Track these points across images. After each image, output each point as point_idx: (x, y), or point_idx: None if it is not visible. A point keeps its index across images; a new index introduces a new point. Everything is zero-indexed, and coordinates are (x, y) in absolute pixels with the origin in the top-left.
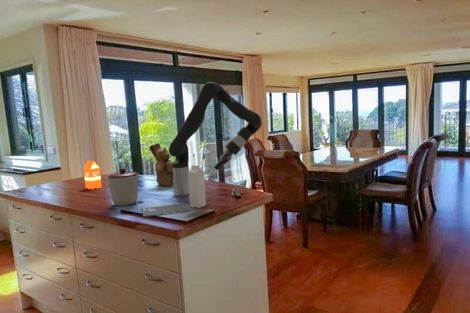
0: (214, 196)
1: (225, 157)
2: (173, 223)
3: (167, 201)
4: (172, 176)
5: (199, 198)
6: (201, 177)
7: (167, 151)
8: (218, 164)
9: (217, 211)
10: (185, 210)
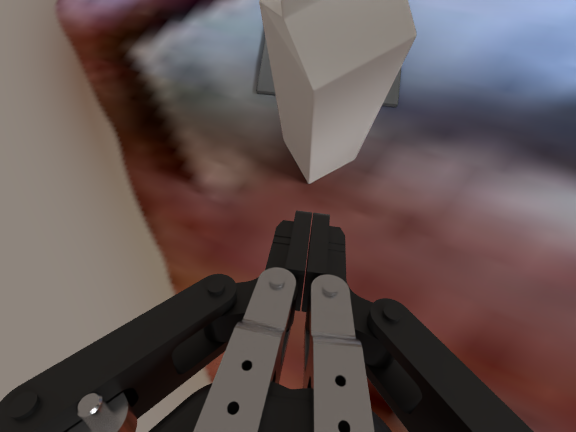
0: (473, 292)
1: (95, 362)
2: (135, 3)
3: (505, 51)
4: None
5: (286, 131)
6: (295, 93)
7: None
8: (274, 254)
9: (175, 191)
10: (260, 74)
